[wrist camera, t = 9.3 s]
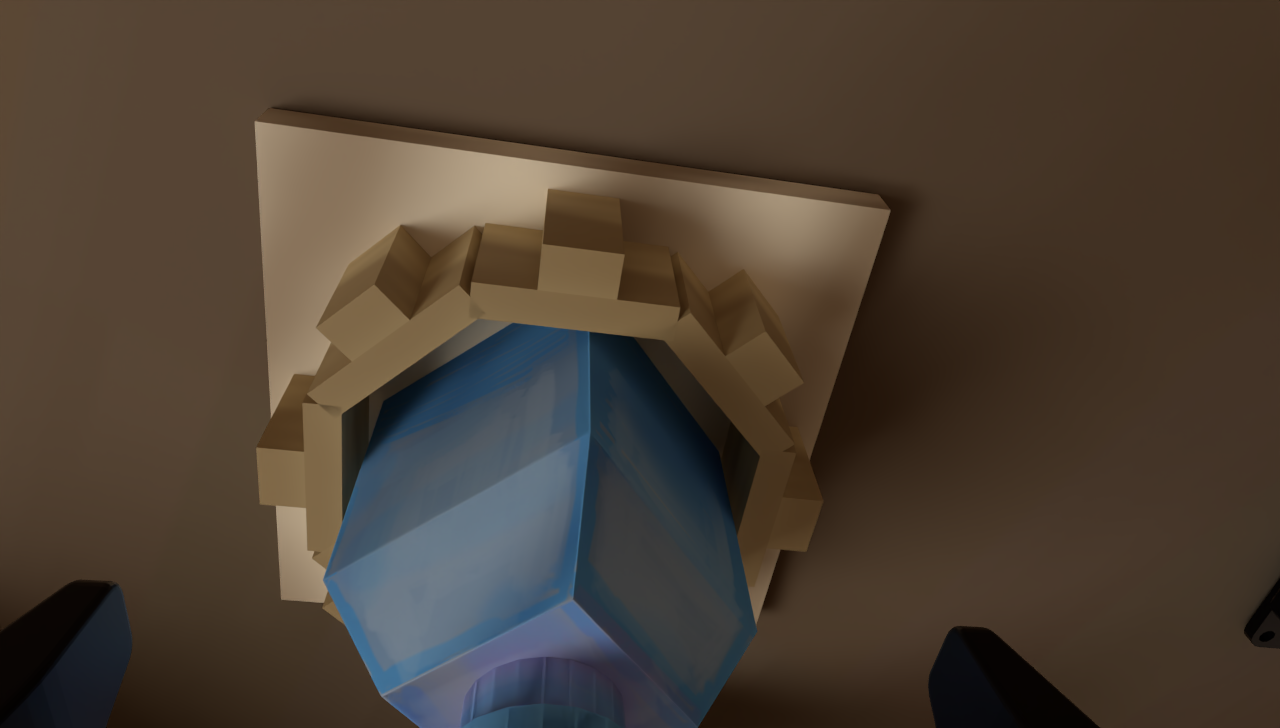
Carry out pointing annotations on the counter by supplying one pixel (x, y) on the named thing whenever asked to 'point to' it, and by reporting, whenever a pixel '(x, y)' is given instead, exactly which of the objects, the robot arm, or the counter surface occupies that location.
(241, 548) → the counter surface
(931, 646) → the counter surface
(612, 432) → the perfume bottle
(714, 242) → the gear board
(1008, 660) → the robot arm
